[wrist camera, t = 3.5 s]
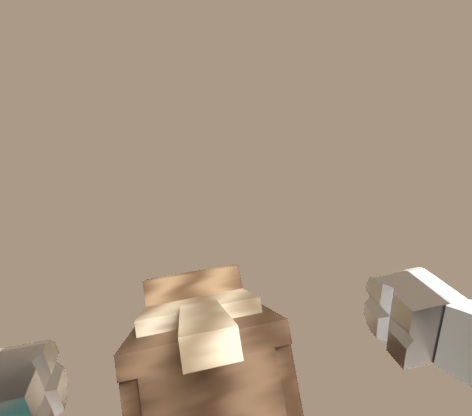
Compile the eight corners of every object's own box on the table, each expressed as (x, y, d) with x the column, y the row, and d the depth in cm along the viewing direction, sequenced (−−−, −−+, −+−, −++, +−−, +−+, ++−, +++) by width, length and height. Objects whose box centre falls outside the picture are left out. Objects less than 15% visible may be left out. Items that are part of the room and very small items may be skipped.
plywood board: (103, 392, 18) (94, 307, 19) (151, 313, 45) (146, 279, 46) (312, 345, 20) (298, 269, 21) (237, 296, 48) (232, 264, 48)
